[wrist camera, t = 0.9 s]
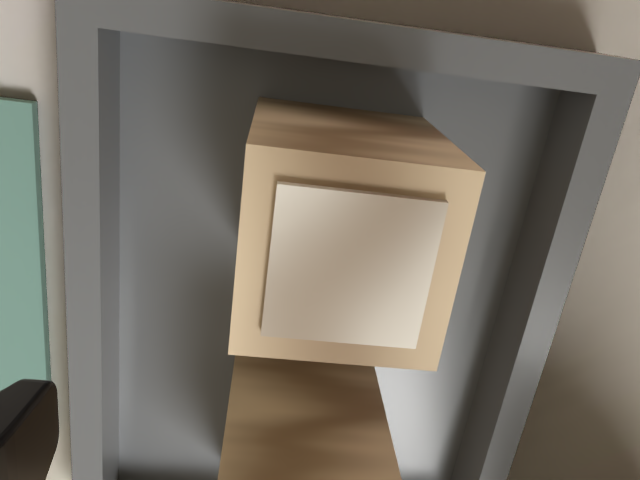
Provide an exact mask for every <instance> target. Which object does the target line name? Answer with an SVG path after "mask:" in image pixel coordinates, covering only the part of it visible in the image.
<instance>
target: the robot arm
mask: <svg viewBox="0 0 640 480" xmlns="http://www.w3.org/2000/svg"><path fill="white" fill-rule="evenodd" d="M58 438H59V419H58V399H57V388H56V386H55V384H54V383H53V382H52V381H50V380H37V379H21V380H19V381H17V382H15V383H13V384H11V385H10V386H8V387H6V388H5V389H3V390H1V391H0V480H45V479H46V476H47V474H48V471H49V468H50V465H51V462H52V459H53V456H54V454H55V451H56V447H57V443H58Z"/></svg>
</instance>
